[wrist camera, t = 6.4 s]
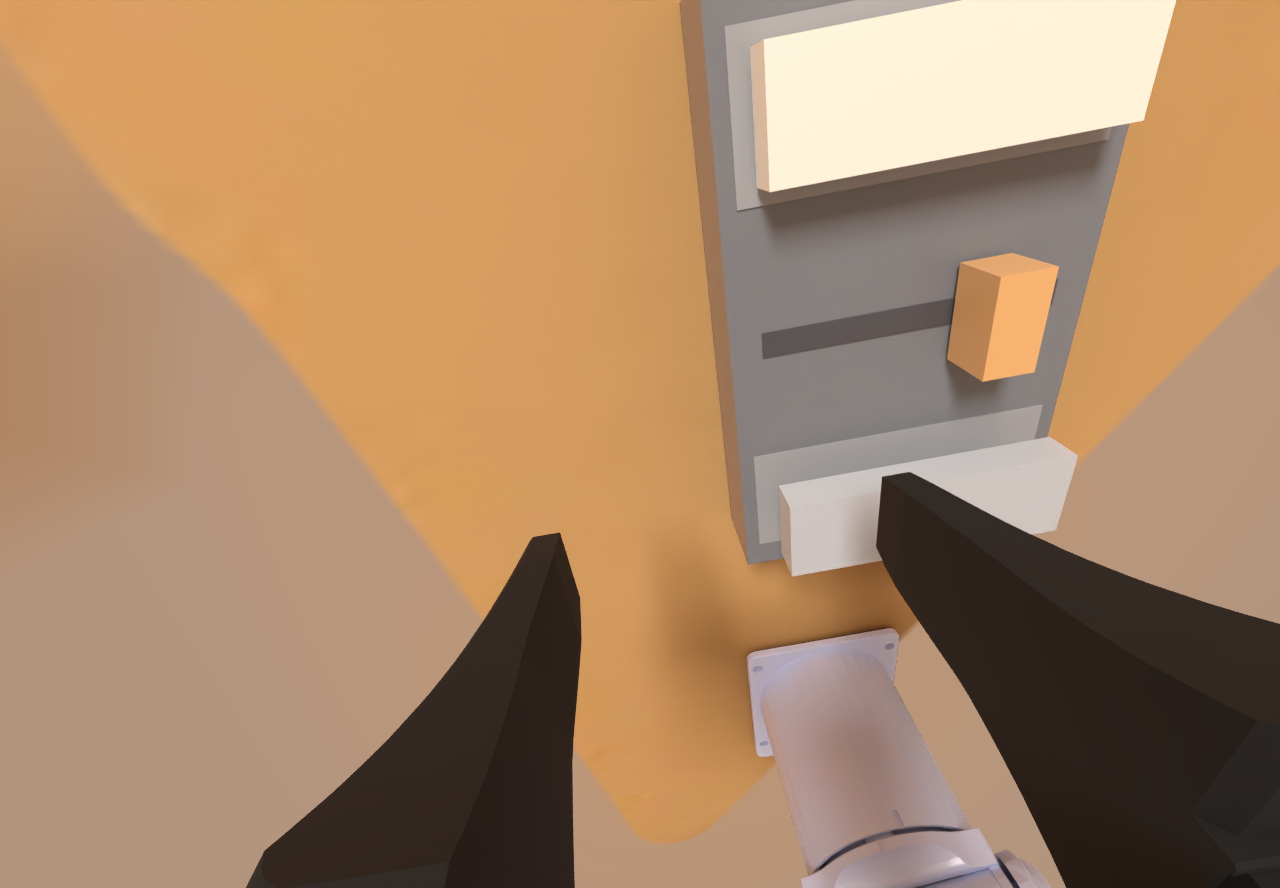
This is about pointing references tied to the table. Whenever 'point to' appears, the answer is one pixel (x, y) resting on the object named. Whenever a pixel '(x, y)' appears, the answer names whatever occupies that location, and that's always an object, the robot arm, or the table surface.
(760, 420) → the panel
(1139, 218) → the table surface
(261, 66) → the table surface
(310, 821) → the robot arm
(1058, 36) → the cream bar
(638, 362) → the table surface
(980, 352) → the orange rectangular block
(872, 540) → the grey bar
